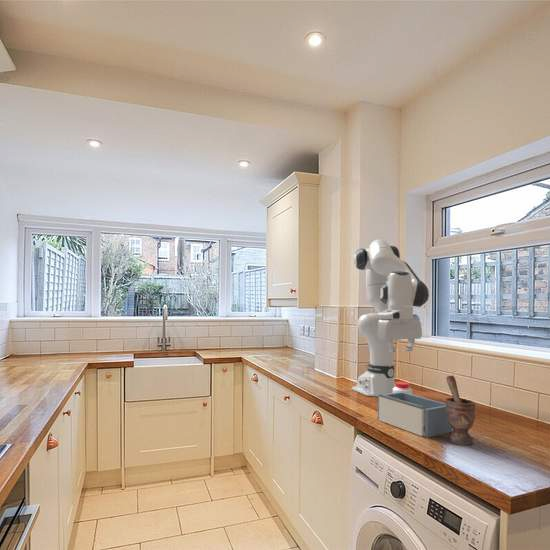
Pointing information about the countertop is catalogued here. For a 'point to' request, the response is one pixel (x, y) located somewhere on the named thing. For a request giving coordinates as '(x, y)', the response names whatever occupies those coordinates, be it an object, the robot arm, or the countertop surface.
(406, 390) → the pill bottle
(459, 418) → the mortar and pestle
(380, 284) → the robot arm
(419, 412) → the white rectangular panel
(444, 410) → the crate
